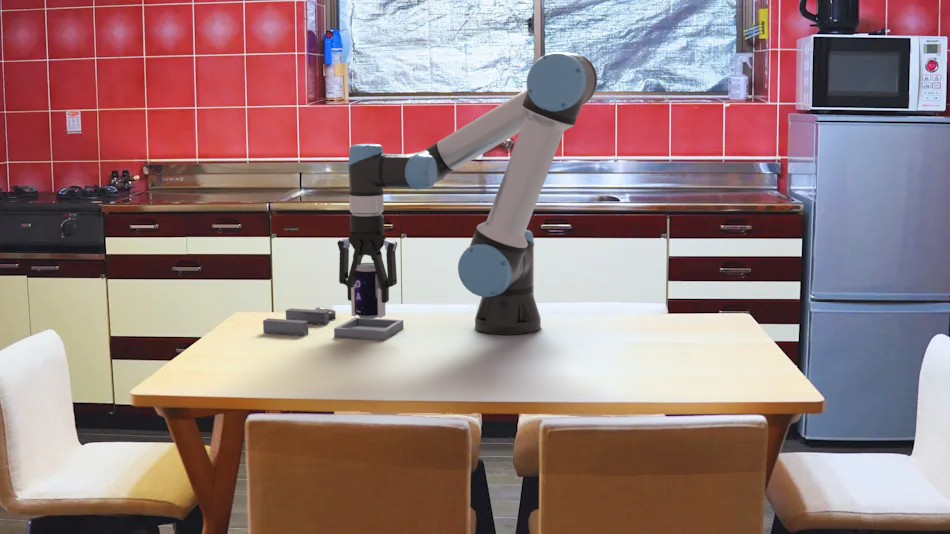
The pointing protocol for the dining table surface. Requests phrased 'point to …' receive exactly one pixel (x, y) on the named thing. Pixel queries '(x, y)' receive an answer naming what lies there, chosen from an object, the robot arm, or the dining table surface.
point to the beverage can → (366, 291)
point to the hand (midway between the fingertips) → (368, 315)
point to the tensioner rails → (298, 321)
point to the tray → (368, 328)
